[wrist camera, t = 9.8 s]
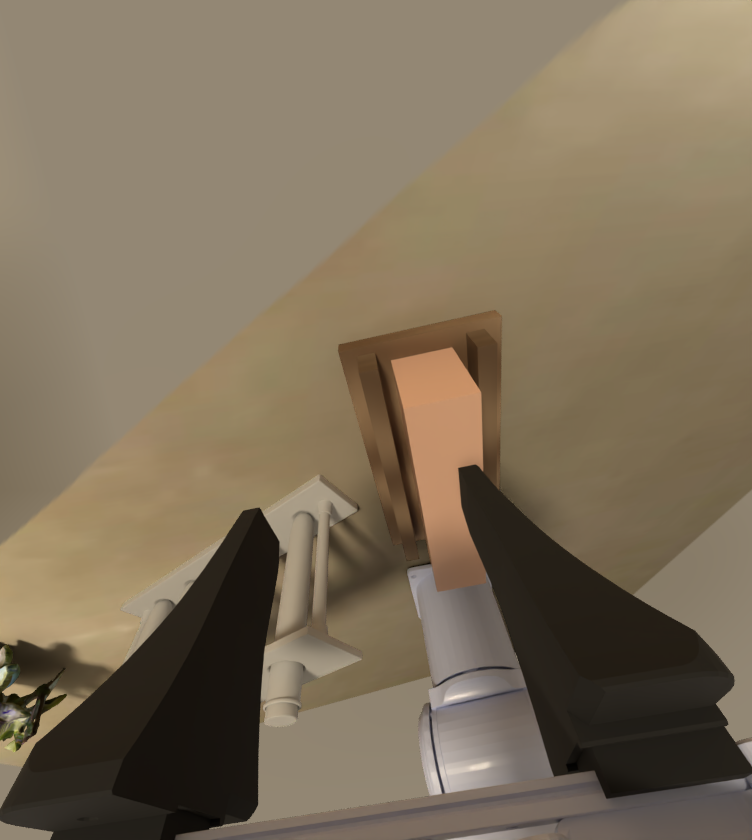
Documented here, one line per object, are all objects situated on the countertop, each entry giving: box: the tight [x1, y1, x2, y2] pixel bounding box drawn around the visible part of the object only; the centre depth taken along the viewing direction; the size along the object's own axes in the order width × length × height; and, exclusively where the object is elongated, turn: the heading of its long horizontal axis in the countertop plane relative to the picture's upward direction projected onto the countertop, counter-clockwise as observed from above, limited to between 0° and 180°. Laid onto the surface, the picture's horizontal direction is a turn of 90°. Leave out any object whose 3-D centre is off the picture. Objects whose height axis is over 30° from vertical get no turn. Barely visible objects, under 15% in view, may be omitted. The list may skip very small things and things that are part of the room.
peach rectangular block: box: [391, 347, 486, 592], centre depth 22 cm, size 16×4×5 cm, turn 11°
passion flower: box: [0, 644, 67, 752], centre depth 35 cm, size 11×11×12 cm
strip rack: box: [338, 310, 502, 561], centre depth 24 cm, size 18×9×3 cm, turn 11°
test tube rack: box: [120, 474, 362, 727], centre depth 25 cm, size 25×4×13 cm, turn 127°
